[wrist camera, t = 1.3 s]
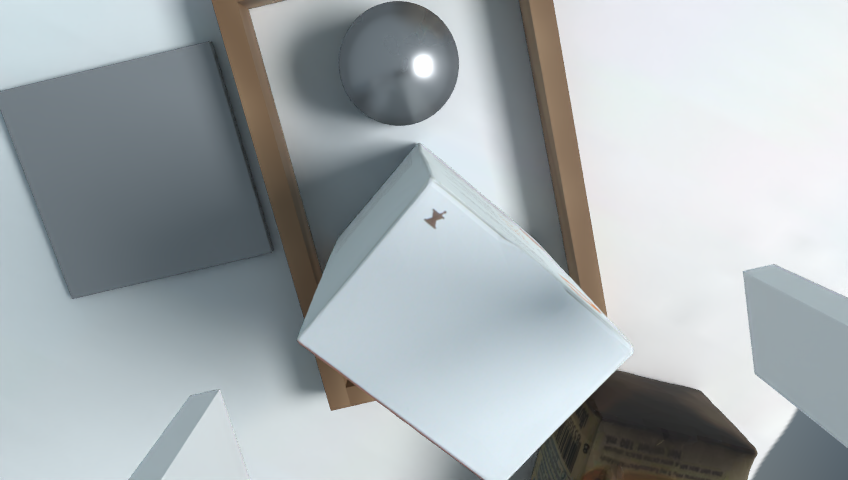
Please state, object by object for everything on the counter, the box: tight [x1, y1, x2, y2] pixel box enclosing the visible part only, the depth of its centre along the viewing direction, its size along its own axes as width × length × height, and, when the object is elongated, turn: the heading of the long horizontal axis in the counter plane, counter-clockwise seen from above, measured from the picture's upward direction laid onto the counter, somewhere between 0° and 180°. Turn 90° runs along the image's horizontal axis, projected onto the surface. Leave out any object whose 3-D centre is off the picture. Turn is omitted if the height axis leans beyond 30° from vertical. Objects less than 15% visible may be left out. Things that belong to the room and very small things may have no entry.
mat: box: [0, 41, 273, 299], centre depth 29 cm, size 10×10×1 cm
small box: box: [297, 143, 634, 480], centre depth 24 cm, size 8×6×13 cm
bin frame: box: [212, 0, 607, 411], centre depth 29 cm, size 14×20×2 cm
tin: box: [339, 1, 459, 126], centre depth 27 cm, size 5×5×3 cm
